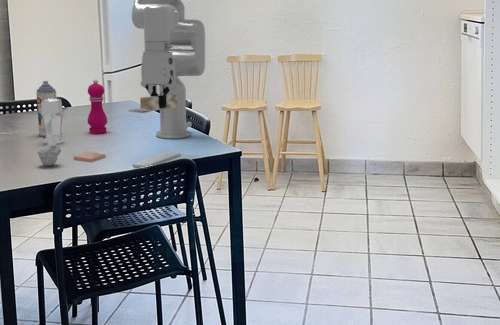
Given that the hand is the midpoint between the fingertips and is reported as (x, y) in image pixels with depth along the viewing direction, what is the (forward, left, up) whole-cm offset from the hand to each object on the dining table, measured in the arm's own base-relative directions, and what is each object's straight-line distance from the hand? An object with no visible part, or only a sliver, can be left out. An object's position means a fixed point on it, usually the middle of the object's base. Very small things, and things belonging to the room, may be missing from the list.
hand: (158, 107), depth 204 cm
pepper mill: (-24, -45, -17) cm, 54 cm away
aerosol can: (-11, -57, -17) cm, 61 cm away
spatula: (+2, 0, -1) cm, 2 cm away
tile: (+6, -21, -17) cm, 27 cm away
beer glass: (-3, -47, -17) cm, 50 cm away
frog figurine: (+22, -25, -17) cm, 37 cm away
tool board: (+1, 0, -17) cm, 17 cm away
